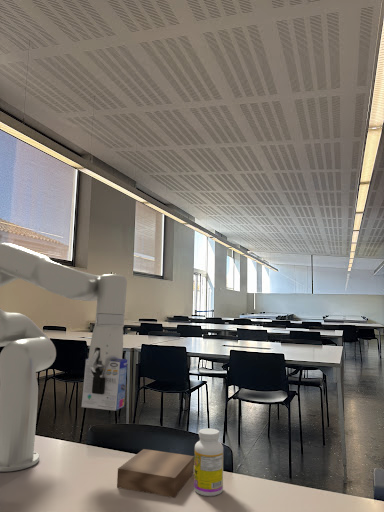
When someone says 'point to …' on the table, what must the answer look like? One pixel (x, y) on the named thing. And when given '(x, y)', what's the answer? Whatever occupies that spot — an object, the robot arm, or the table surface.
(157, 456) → the walnut block
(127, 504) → the table surface
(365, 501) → the table surface
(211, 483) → the supplement bottle
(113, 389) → the ink cartridge box
